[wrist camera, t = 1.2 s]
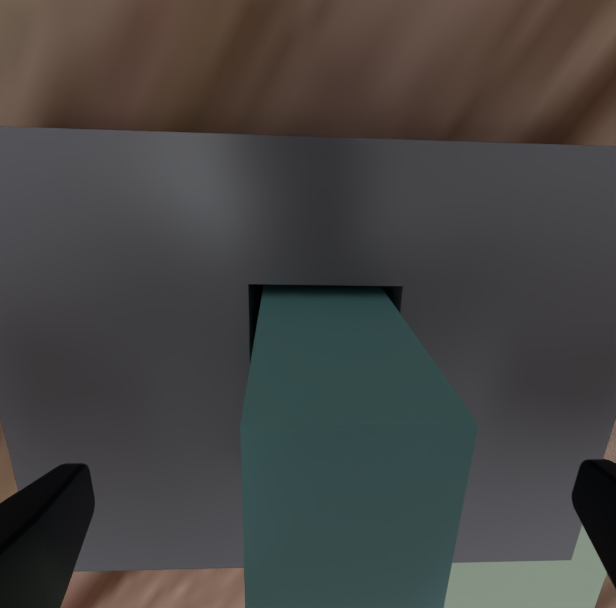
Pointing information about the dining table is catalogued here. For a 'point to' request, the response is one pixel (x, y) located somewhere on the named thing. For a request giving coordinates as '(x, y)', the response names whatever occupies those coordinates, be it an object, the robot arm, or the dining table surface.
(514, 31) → the dining table surface
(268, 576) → the plug
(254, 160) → the socket block
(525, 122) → the dining table surface
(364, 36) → the dining table surface
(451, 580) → the mat
